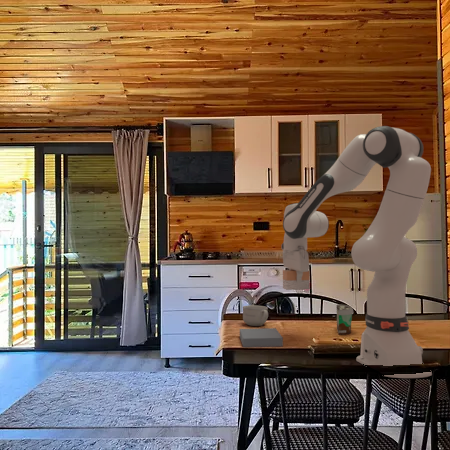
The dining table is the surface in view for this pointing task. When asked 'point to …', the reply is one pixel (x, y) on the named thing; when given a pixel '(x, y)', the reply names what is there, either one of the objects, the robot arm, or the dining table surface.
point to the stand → (261, 337)
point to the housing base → (296, 285)
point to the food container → (344, 319)
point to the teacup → (255, 315)
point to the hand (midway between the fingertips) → (295, 281)
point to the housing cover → (294, 275)
